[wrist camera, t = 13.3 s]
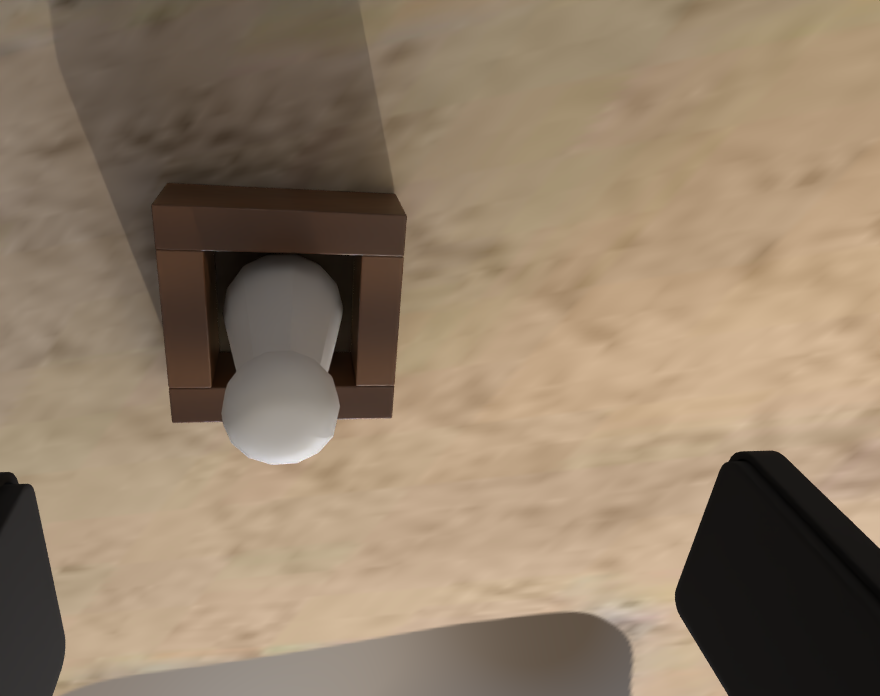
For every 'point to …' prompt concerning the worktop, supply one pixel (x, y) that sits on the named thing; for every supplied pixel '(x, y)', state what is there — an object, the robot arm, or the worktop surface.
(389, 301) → the holder
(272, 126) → the worktop surface
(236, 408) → the salt shaker
